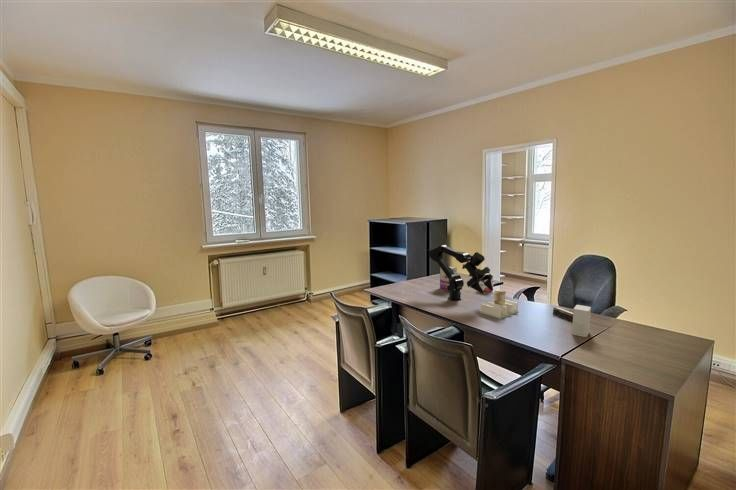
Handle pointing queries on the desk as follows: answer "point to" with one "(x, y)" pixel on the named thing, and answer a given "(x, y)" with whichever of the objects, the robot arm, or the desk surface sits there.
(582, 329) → the small box
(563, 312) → the brown flat box
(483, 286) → the ink box
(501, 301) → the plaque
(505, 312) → the rack
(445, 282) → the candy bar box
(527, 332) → the desk surface
